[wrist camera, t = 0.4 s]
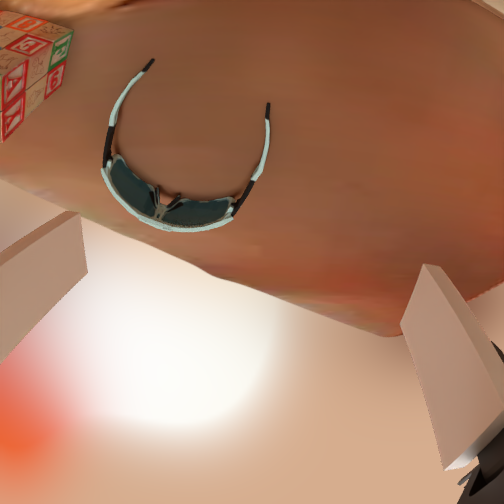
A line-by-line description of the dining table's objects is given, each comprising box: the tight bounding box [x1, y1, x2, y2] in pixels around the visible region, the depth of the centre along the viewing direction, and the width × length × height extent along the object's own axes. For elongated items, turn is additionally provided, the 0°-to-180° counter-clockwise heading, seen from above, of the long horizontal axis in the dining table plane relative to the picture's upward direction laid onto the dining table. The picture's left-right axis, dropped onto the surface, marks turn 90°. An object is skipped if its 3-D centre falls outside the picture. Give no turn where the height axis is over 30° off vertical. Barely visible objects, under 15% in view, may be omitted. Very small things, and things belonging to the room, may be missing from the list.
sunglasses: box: [101, 59, 270, 232], centre depth 27 cm, size 14×15×5 cm
